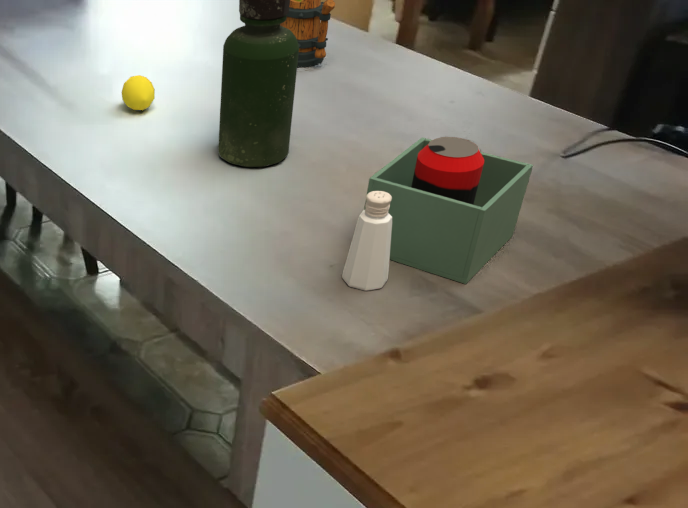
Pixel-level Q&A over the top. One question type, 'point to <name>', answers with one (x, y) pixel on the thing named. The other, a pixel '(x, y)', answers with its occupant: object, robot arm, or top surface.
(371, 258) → the pepper shaker
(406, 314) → the top surface
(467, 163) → the soda can
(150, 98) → the lemon
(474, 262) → the green open box
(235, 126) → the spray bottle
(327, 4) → the mug
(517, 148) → the top surface
